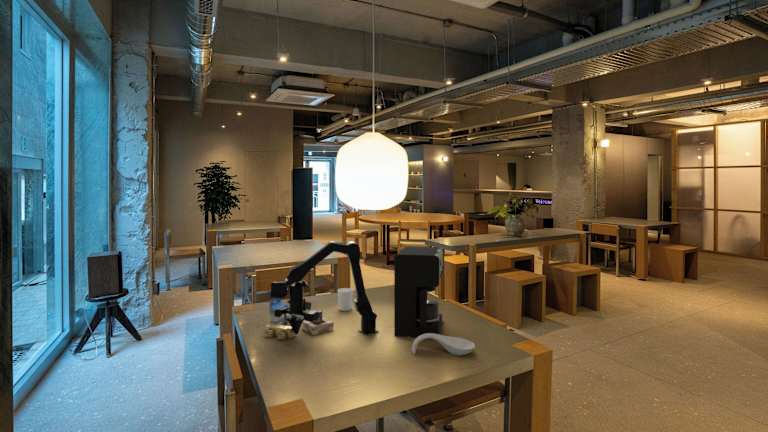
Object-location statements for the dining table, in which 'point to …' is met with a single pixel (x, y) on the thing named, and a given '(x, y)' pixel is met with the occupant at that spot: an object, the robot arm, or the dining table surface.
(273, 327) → the tan rectangular block
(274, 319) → the label tape box
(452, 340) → the spoon rest
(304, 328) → the dock block
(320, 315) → the black cylinder
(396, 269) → the coffee maker
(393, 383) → the dining table surface
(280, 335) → the pin guide
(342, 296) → the white cup
